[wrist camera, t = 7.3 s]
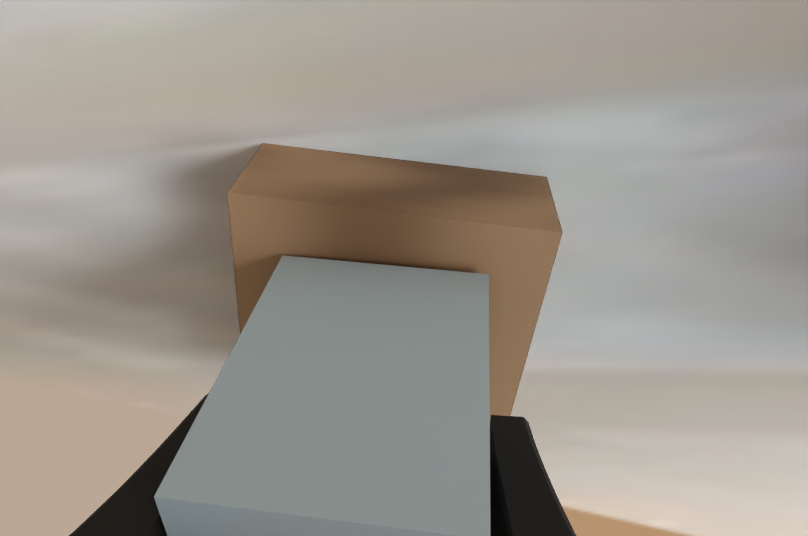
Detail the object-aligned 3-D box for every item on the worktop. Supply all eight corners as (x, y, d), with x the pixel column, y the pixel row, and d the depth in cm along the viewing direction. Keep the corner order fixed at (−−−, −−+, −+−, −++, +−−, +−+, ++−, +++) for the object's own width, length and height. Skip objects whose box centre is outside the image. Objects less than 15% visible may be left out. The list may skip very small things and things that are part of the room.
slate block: (488, 274, 12) (490, 540, 7) (469, 417, 15) (460, 686, 10) (282, 255, 13) (153, 496, 8) (297, 398, 15) (207, 649, 10)
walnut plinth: (545, 171, 14) (562, 232, 12) (494, 372, 18) (500, 450, 16) (267, 138, 15) (227, 192, 12) (276, 345, 19) (247, 418, 16)
